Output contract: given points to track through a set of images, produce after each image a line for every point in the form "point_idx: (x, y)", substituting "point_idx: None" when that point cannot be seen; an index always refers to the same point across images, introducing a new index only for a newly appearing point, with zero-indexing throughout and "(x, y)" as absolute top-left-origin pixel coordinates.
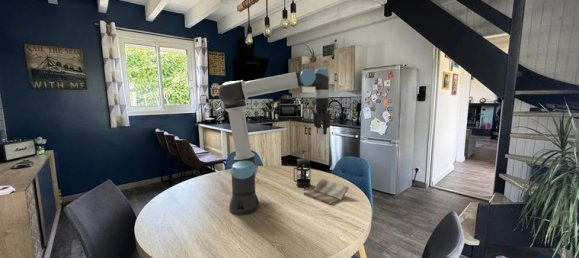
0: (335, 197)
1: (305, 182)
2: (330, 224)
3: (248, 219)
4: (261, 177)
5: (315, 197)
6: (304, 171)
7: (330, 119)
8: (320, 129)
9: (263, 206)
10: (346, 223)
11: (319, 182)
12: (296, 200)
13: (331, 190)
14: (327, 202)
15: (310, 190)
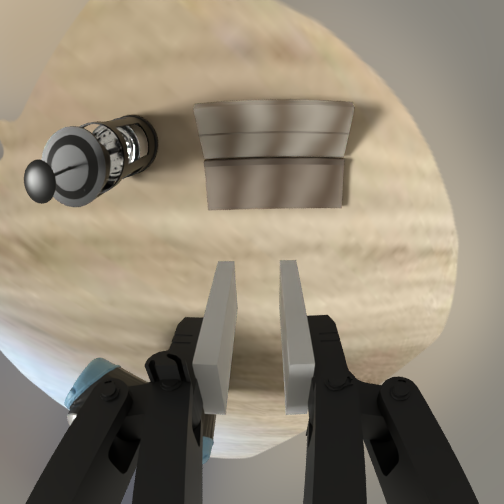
0: (327, 161)
1: (147, 159)
2: (399, 287)
3: (251, 384)
4: (7, 223)
5: (270, 208)
6: (125, 173)
7: (472, 497)
8: (224, 378)
9: None
10: (424, 258)
11: (201, 126)
12: (235, 259)
13: (288, 137)
14: (327, 207)
15: (207, 176)
